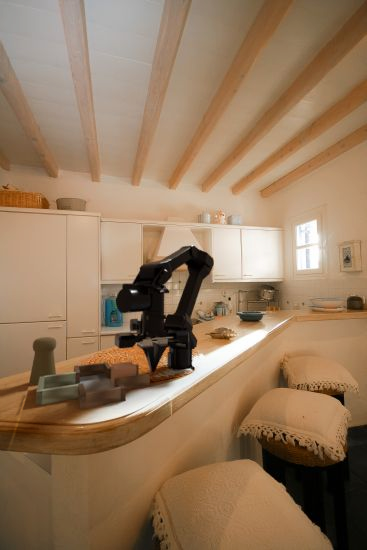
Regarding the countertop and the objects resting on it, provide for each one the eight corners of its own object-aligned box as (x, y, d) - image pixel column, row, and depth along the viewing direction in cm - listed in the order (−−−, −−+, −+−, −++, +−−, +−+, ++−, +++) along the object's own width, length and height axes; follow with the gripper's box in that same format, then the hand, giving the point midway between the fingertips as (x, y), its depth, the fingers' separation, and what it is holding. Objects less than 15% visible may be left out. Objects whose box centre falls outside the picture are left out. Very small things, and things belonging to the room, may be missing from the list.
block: (130, 377, 64) (130, 361, 64) (136, 383, 59) (136, 366, 59) (110, 380, 61) (111, 364, 62) (114, 387, 57) (115, 369, 57)
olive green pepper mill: (44, 388, 58) (46, 340, 59) (22, 386, 59) (24, 339, 60) (61, 379, 64) (63, 336, 65) (41, 377, 65) (43, 335, 66)
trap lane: (131, 370, 72) (132, 359, 72) (157, 397, 53) (158, 382, 53) (40, 382, 61) (41, 369, 62) (33, 421, 43) (33, 403, 43)
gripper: (173, 308, 76) (172, 359, 75) (111, 309, 68) (109, 368, 67) (190, 310, 66) (190, 370, 65) (120, 312, 58) (118, 381, 57)
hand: (152, 371), depth 64 cm, fingers closed
